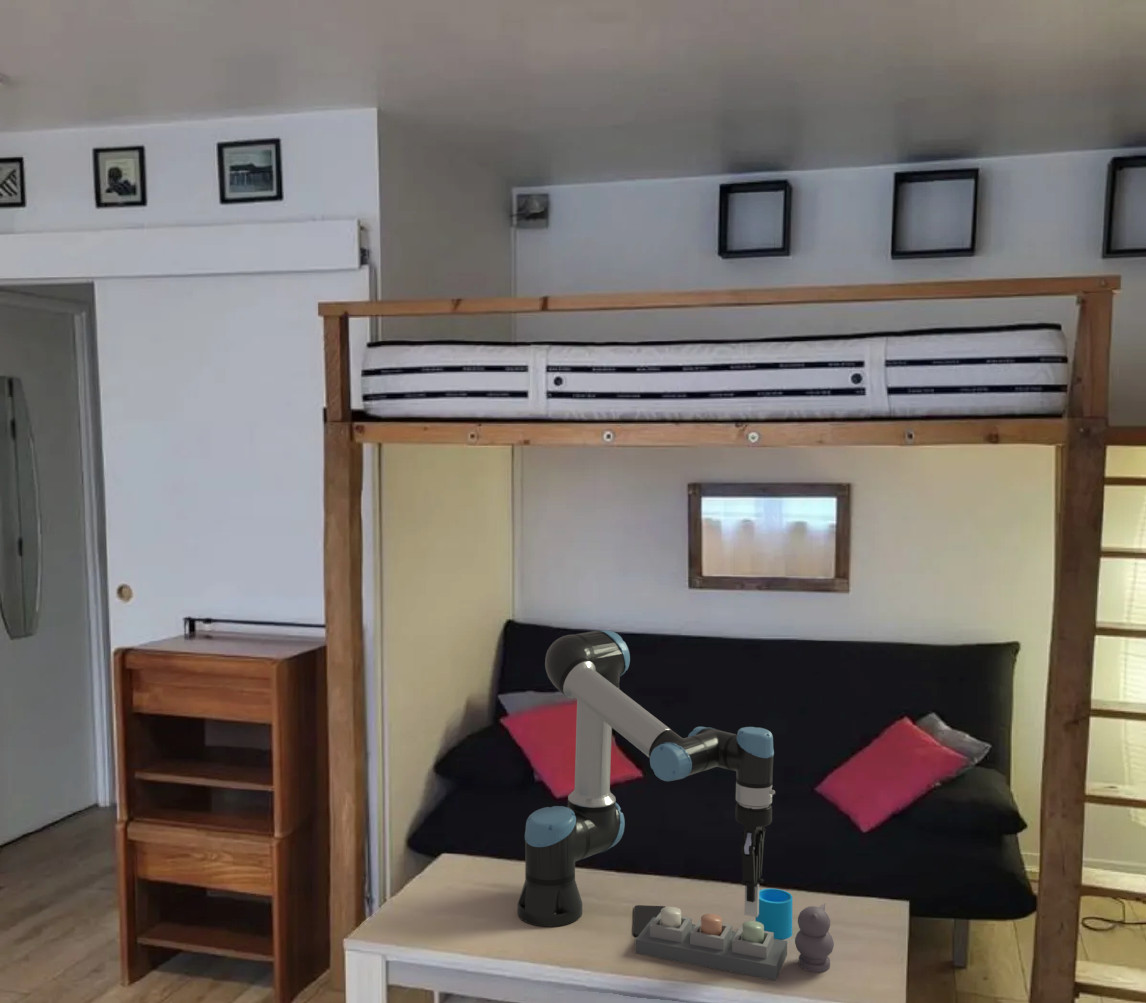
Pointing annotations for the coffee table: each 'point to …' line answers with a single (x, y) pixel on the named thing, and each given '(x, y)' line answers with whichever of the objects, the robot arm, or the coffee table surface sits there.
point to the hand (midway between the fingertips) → (751, 914)
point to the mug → (776, 912)
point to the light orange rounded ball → (711, 924)
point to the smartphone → (644, 917)
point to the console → (713, 948)
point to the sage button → (753, 932)
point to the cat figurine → (814, 939)
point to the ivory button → (671, 917)
